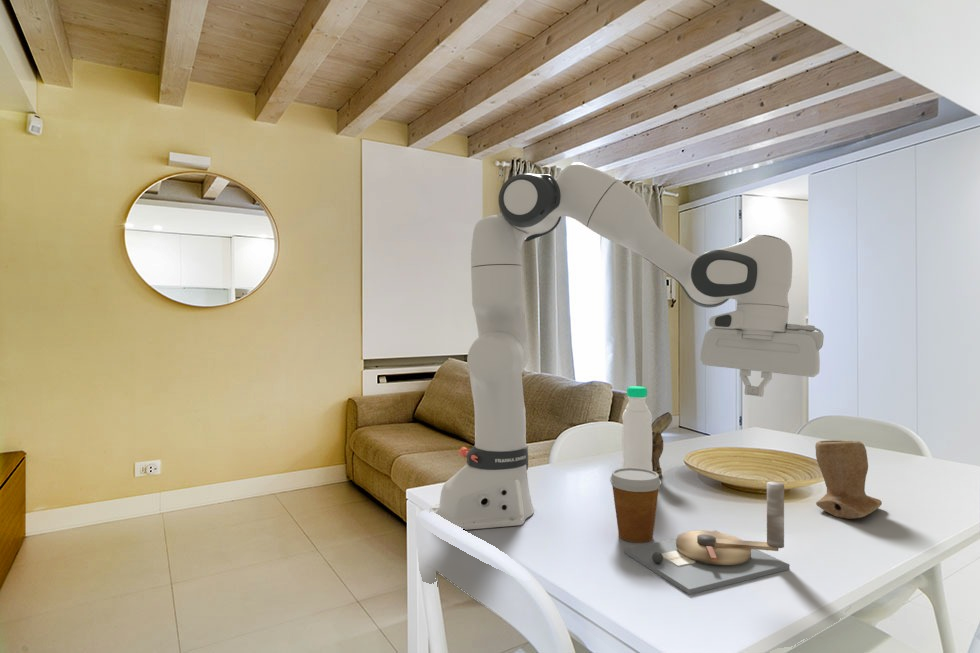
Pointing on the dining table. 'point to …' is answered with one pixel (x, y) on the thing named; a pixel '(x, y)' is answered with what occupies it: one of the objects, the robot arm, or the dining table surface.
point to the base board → (701, 567)
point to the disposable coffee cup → (635, 502)
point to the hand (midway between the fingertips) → (753, 395)
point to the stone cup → (844, 478)
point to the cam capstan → (731, 548)
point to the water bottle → (637, 430)
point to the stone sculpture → (659, 440)
